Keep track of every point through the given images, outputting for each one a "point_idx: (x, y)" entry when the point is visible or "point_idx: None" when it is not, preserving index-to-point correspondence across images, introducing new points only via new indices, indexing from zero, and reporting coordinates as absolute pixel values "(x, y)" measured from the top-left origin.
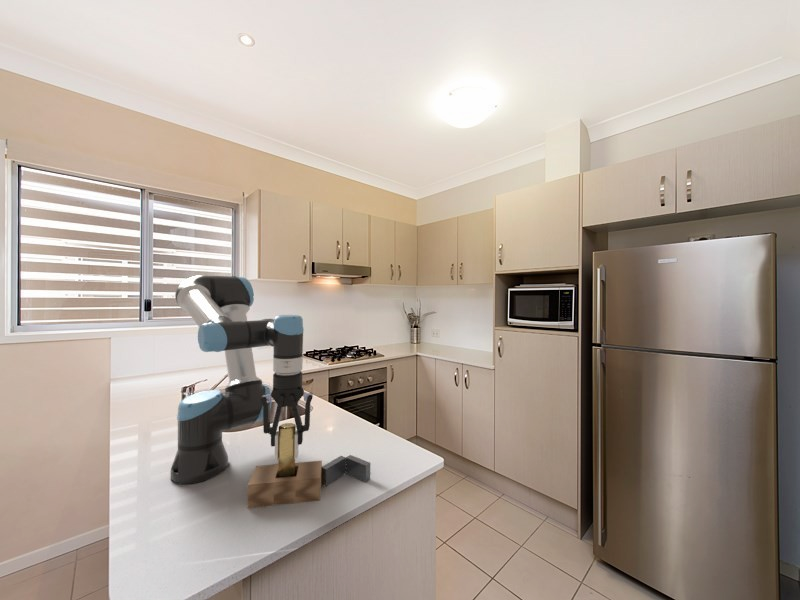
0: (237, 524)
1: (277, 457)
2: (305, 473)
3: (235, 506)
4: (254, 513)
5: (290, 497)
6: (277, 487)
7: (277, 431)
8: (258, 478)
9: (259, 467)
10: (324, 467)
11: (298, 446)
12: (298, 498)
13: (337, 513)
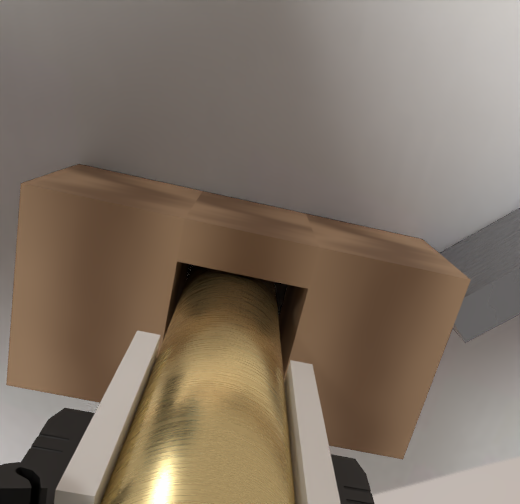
0: (40, 400)
1: None
2: (333, 392)
3: (6, 284)
4: None
5: None
6: None
7: (64, 492)
8: (59, 344)
9: (46, 213)
10: (462, 320)
11: (319, 401)
12: None
13: (415, 473)
